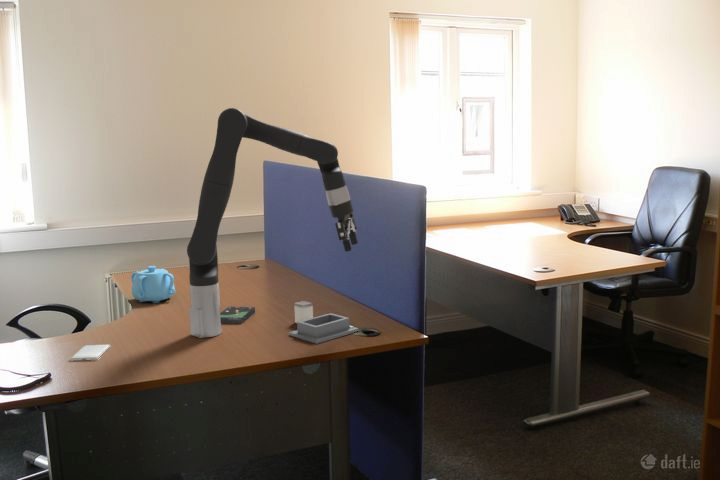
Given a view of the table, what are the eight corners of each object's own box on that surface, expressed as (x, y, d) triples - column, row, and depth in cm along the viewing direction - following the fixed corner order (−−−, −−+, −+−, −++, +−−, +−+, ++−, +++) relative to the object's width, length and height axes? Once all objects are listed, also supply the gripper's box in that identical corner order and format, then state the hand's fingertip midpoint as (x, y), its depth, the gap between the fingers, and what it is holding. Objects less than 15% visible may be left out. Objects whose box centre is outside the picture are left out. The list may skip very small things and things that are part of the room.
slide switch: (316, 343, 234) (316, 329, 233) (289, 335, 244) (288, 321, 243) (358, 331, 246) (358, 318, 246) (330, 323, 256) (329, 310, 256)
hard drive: (84, 345, 236) (69, 357, 224) (110, 344, 236) (97, 356, 224) (84, 350, 237) (70, 362, 224) (110, 349, 237) (97, 362, 224)
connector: (304, 325, 256) (303, 305, 254) (295, 322, 259) (294, 303, 258) (313, 322, 258) (312, 303, 257) (304, 320, 262) (303, 300, 261)
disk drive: (228, 313, 276) (214, 324, 262) (228, 306, 276) (214, 316, 261) (255, 314, 274) (243, 324, 260) (255, 306, 274) (242, 317, 259)
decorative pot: (133, 306, 288) (130, 272, 286) (131, 297, 303) (129, 264, 301) (176, 302, 293) (174, 268, 291) (172, 293, 308) (170, 261, 306)
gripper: (334, 199, 255) (346, 244, 258) (322, 208, 242) (335, 255, 245) (355, 194, 253) (367, 240, 256) (344, 203, 240) (357, 251, 243)
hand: (351, 247), depth 251 cm, fingers open, 8 cm apart
